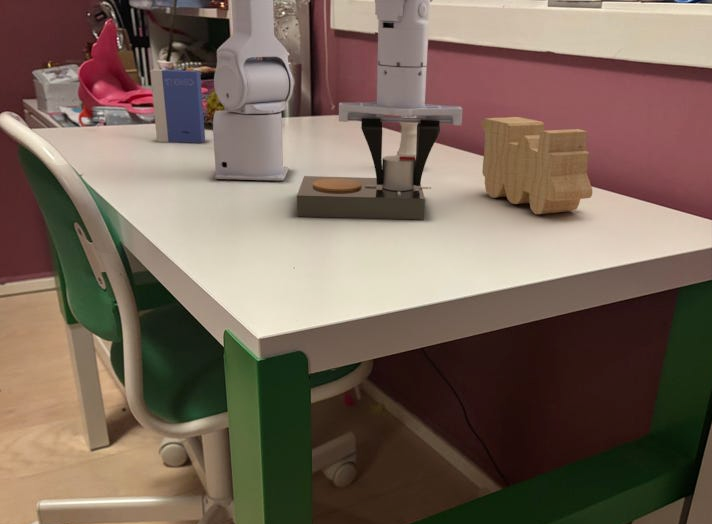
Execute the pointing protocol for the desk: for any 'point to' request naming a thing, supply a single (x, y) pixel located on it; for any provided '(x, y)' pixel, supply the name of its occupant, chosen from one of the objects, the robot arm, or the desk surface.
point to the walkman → (178, 105)
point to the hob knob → (398, 173)
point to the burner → (337, 185)
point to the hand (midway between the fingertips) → (397, 183)
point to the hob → (360, 201)
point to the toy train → (535, 164)
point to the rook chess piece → (408, 138)
